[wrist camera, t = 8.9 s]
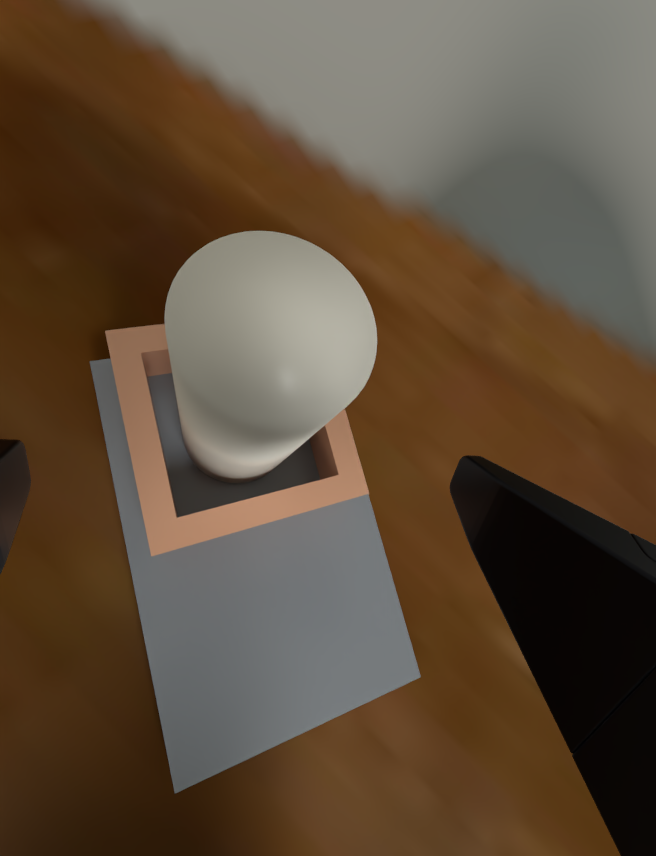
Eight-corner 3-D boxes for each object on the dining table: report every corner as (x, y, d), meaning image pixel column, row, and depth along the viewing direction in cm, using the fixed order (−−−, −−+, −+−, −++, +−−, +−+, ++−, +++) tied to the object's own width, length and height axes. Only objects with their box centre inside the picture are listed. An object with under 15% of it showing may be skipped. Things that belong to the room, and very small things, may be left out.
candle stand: (404, 666, 19) (454, 698, 16) (176, 770, 16) (171, 842, 12) (312, 342, 22) (337, 303, 18) (97, 374, 18) (73, 334, 15)
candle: (307, 447, 19) (414, 364, 10) (220, 504, 17) (245, 471, 8) (252, 365, 19) (305, 204, 10) (161, 414, 17) (118, 277, 8)
